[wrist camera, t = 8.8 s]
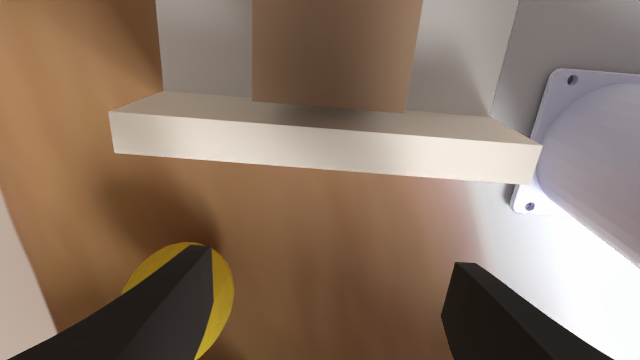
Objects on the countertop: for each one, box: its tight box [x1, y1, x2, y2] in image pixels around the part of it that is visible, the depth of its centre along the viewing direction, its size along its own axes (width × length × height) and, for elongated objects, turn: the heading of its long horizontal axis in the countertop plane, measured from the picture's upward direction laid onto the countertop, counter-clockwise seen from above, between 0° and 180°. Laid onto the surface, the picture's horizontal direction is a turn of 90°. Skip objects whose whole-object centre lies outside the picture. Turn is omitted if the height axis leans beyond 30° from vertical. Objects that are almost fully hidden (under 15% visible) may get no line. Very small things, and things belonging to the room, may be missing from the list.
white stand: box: [108, 0, 543, 185], centre depth 14 cm, size 15×10×7 cm
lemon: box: [120, 242, 234, 360], centre depth 19 cm, size 6×6×8 cm
